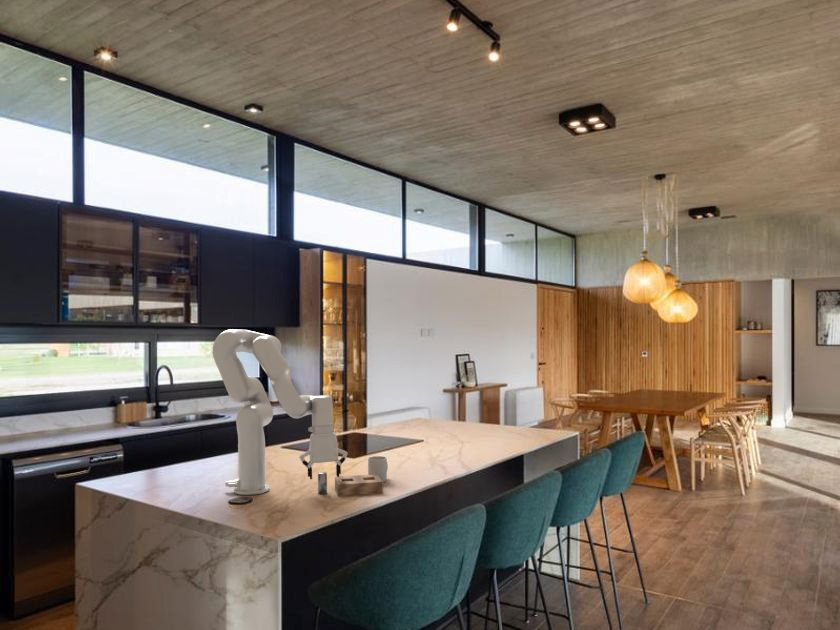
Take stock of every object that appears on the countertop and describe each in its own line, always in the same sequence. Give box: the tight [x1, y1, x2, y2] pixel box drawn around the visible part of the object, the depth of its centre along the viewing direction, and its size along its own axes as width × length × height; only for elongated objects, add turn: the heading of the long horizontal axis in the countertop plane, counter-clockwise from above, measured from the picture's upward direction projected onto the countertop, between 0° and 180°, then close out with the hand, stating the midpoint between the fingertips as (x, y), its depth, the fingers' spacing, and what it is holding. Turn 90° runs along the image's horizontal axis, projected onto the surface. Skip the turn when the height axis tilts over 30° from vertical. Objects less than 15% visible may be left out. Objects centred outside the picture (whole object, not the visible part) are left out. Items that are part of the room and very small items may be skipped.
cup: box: [367, 455, 388, 483], centre depth 240 cm, size 7×10×9 cm
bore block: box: [334, 474, 384, 497], centre depth 225 cm, size 16×12×4 cm
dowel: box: [317, 471, 328, 495], centre depth 222 cm, size 3×3×7 cm
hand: (324, 477), depth 222 cm, fingers open, 9 cm apart
